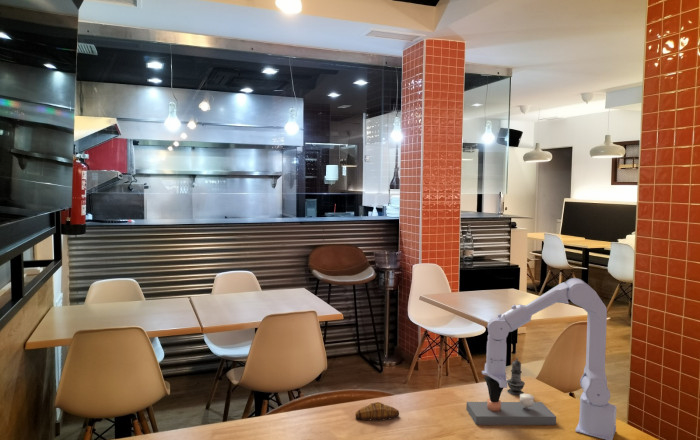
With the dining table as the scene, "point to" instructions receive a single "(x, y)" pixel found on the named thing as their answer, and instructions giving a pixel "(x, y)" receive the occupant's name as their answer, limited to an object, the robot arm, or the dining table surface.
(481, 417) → the control board
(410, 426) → the dining table surface
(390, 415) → the croissant
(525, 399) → the knob
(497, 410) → the knob
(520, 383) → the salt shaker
